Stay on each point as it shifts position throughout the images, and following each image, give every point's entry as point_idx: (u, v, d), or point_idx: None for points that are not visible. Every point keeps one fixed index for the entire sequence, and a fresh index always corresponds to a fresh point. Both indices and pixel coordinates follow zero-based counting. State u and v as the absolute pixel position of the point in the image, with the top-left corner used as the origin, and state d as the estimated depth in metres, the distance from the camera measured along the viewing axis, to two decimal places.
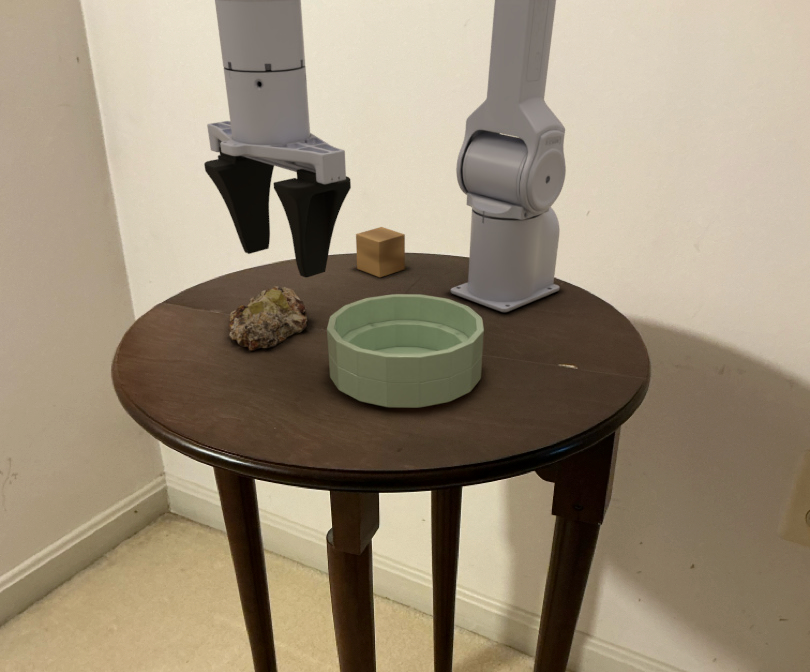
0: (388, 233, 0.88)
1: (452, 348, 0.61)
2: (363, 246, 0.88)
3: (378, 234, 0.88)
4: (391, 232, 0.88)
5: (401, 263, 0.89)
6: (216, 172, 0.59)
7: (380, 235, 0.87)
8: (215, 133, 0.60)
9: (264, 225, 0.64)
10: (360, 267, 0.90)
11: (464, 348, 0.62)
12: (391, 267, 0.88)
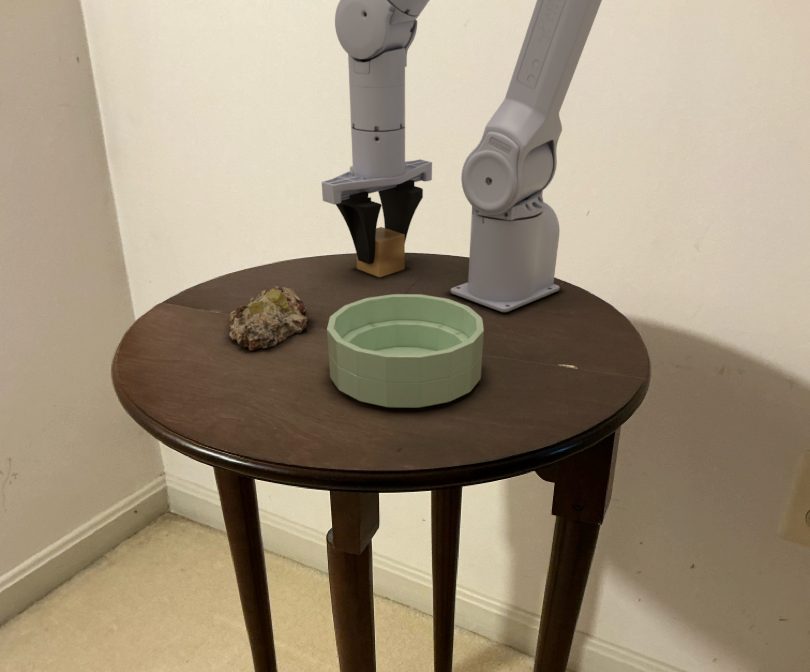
0: (388, 233, 0.88)
1: (452, 348, 0.61)
2: None
3: (378, 234, 0.88)
4: (391, 232, 0.88)
5: (401, 263, 0.89)
6: None
7: (380, 235, 0.87)
8: None
9: None
10: (360, 267, 0.90)
11: (464, 348, 0.62)
12: (391, 267, 0.88)
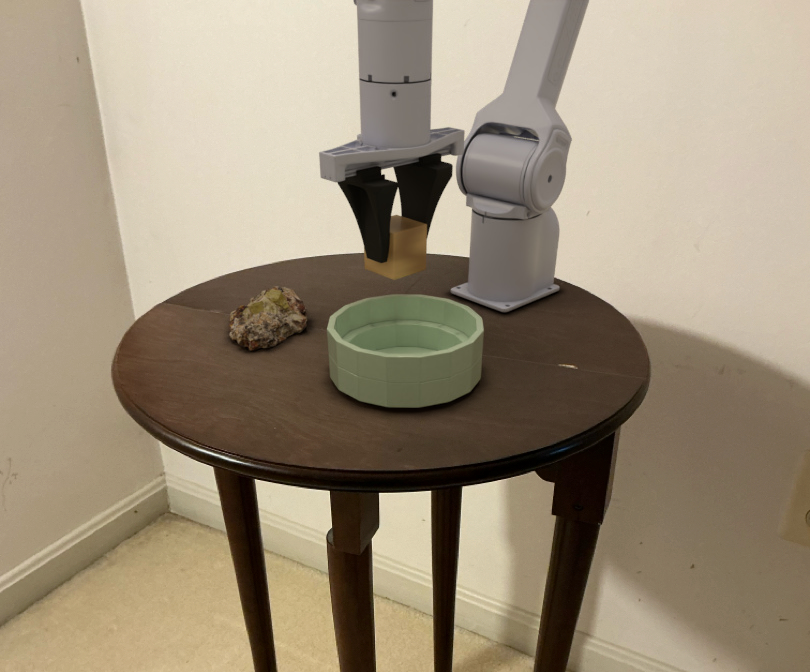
0: (405, 222, 0.67)
1: (452, 348, 0.61)
2: None
3: (393, 223, 0.67)
4: (409, 221, 0.68)
5: (422, 262, 0.69)
6: None
7: (395, 225, 0.67)
8: None
9: None
10: (368, 267, 0.69)
11: (464, 348, 0.62)
12: (409, 267, 0.68)
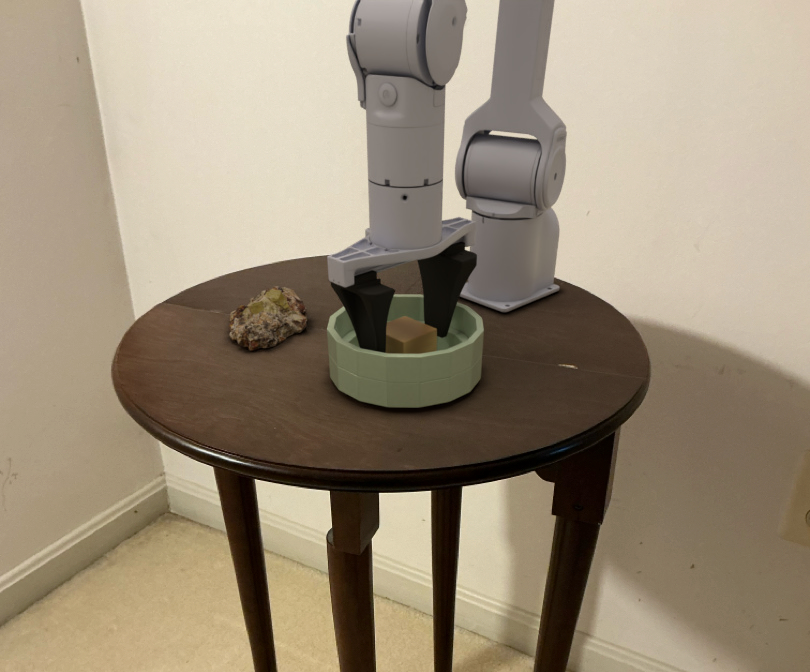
0: (415, 327, 0.66)
1: (452, 348, 0.61)
2: None
3: (402, 328, 0.66)
4: (419, 325, 0.66)
5: None
6: None
7: (404, 331, 0.65)
8: (446, 225, 0.65)
9: (442, 317, 0.67)
10: None
11: (464, 348, 0.62)
12: None
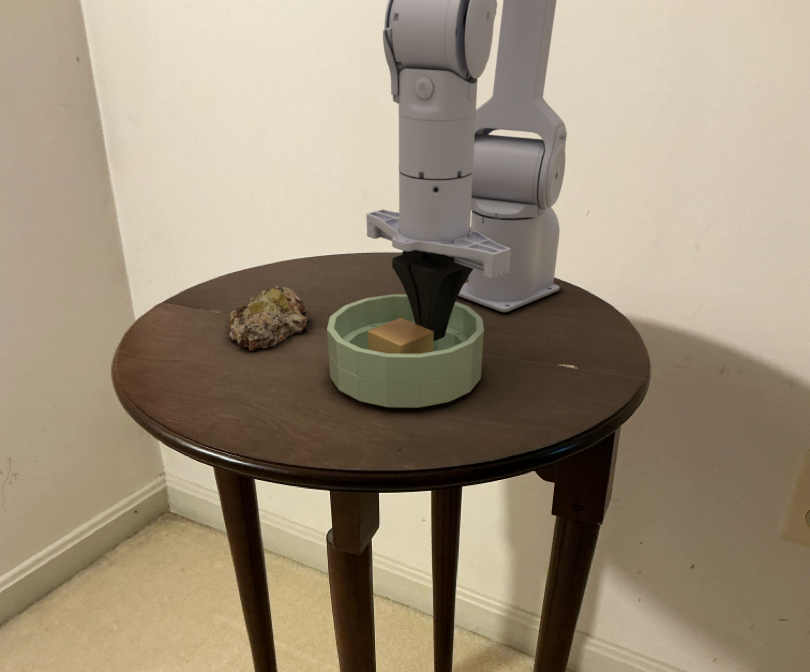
0: (411, 329, 0.65)
1: (452, 348, 0.61)
2: (378, 347, 0.65)
3: (398, 331, 0.65)
4: (415, 328, 0.66)
5: None
6: (406, 270, 0.63)
7: (401, 334, 0.65)
8: (375, 223, 0.65)
9: None
10: None
11: (464, 348, 0.62)
12: None
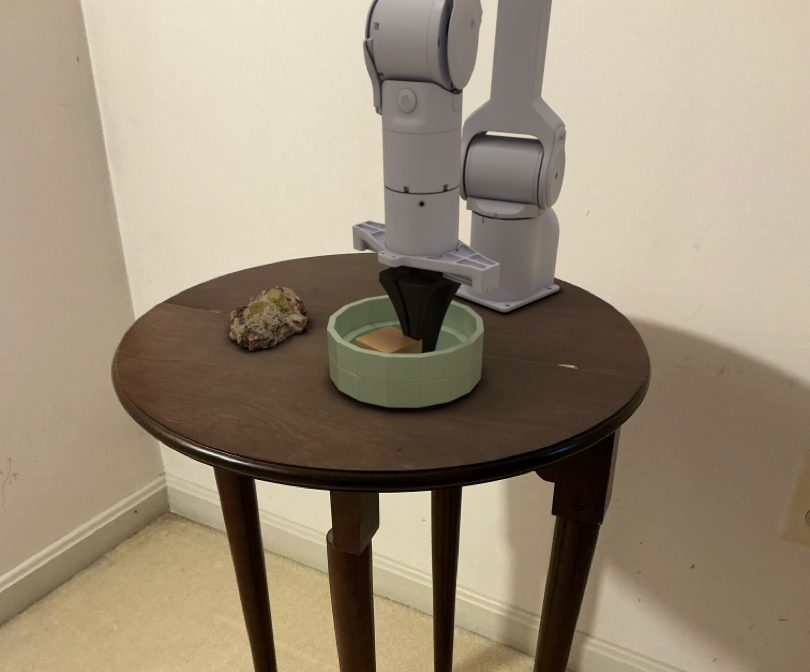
0: (399, 337, 0.64)
1: (452, 348, 0.61)
2: None
3: (386, 339, 0.64)
4: (403, 336, 0.64)
5: None
6: (393, 285, 0.61)
7: (388, 342, 0.64)
8: (361, 235, 0.63)
9: None
10: None
11: (464, 348, 0.62)
12: None
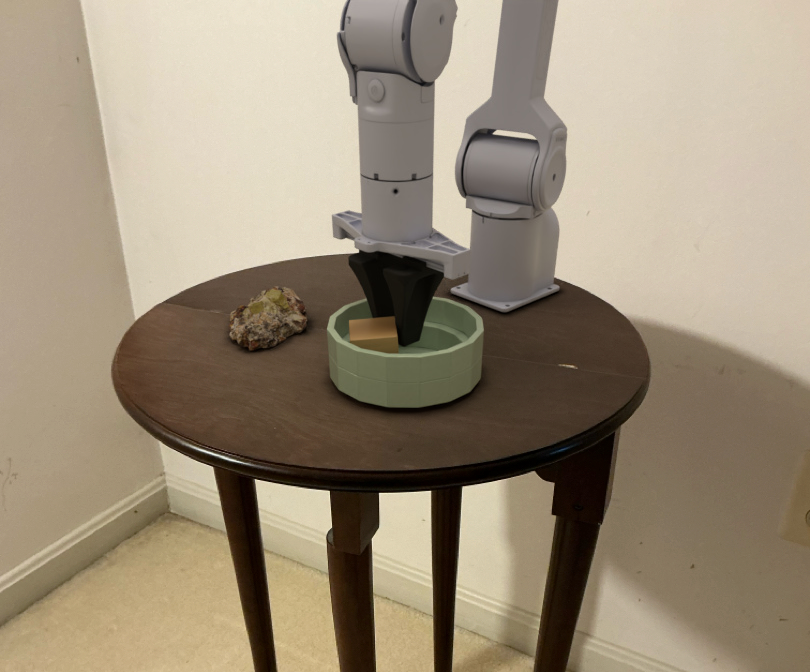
0: (377, 323, 0.66)
1: (452, 348, 0.61)
2: None
3: (371, 328, 0.65)
4: (377, 320, 0.66)
5: None
6: (361, 267, 0.64)
7: (378, 329, 0.65)
8: (340, 224, 0.65)
9: None
10: None
11: (464, 348, 0.62)
12: None
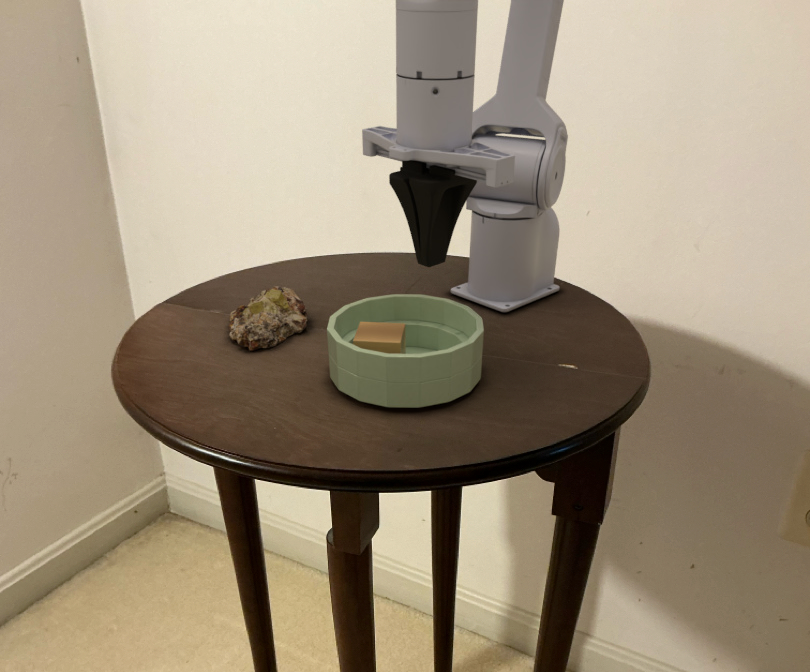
0: (386, 327, 0.66)
1: (452, 348, 0.61)
2: None
3: (378, 332, 0.65)
4: (387, 325, 0.66)
5: None
6: (404, 184, 0.59)
7: (384, 333, 0.65)
8: (371, 138, 0.62)
9: None
10: None
11: (464, 348, 0.62)
12: None
